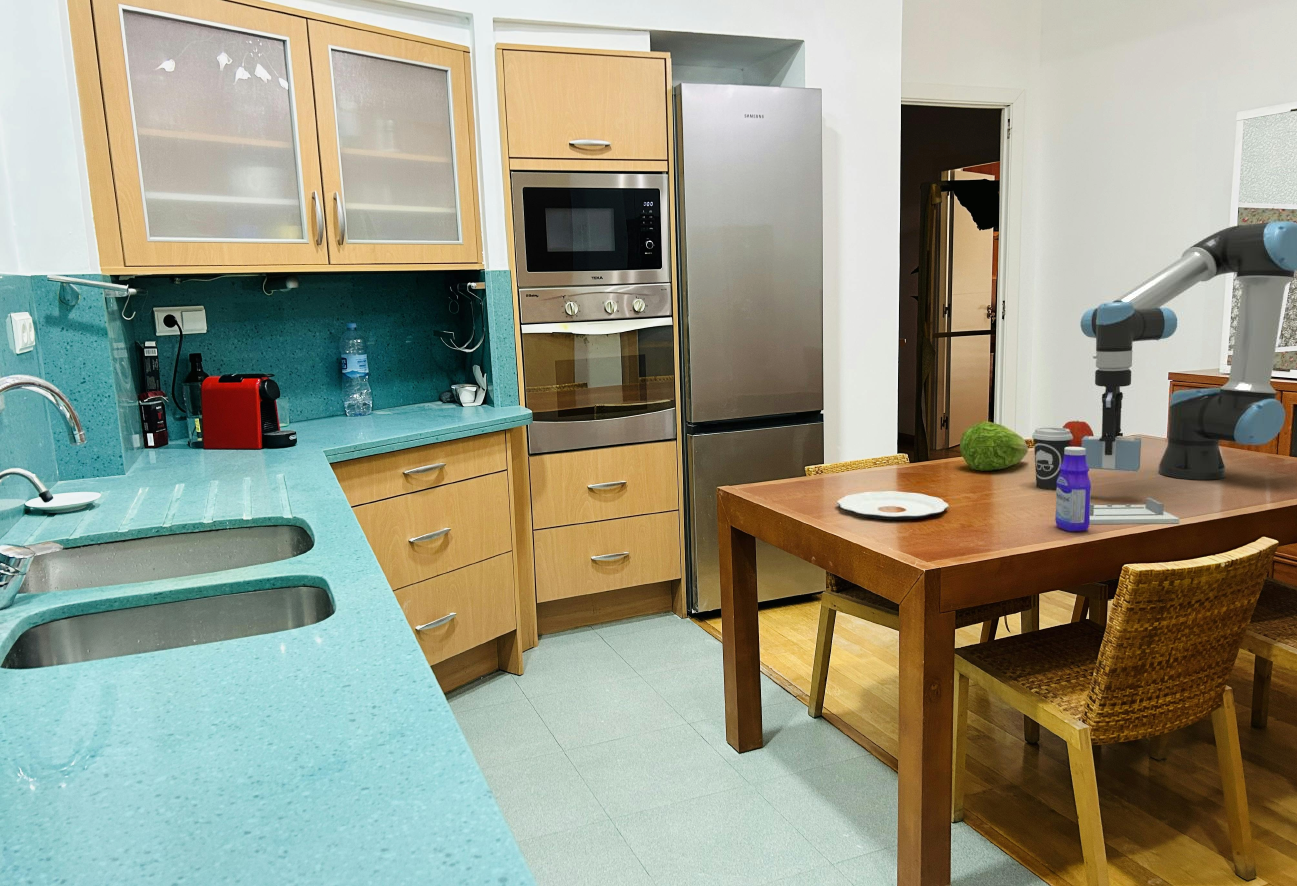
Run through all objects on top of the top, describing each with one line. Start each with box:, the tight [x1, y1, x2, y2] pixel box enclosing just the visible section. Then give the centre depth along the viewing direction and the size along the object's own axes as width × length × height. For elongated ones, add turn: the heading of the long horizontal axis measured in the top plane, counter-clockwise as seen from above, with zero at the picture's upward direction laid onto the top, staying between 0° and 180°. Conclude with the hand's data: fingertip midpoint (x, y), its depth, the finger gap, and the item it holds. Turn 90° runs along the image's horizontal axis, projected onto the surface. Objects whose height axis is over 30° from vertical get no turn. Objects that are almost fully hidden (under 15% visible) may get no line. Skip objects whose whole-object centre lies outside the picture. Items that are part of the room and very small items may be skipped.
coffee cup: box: [1031, 426, 1073, 491], centre depth 225 cm, size 10×10×15 cm
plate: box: [836, 490, 949, 521], centre depth 208 cm, size 25×25×2 cm
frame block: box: [1082, 435, 1142, 472], centre depth 209 cm, size 12×5×7 cm, turn 55°
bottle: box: [1054, 447, 1092, 532], centre depth 185 cm, size 7×6×17 cm
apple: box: [1062, 419, 1095, 447], centre depth 269 cm, size 10×10×10 cm
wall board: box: [1089, 497, 1180, 525], centre depth 195 cm, size 19×13×3 cm
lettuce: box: [959, 421, 1029, 472], centre depth 252 cm, size 14×24×15 cm
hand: (1110, 465), depth 210 cm, fingers closed on frame block, 5 cm apart
